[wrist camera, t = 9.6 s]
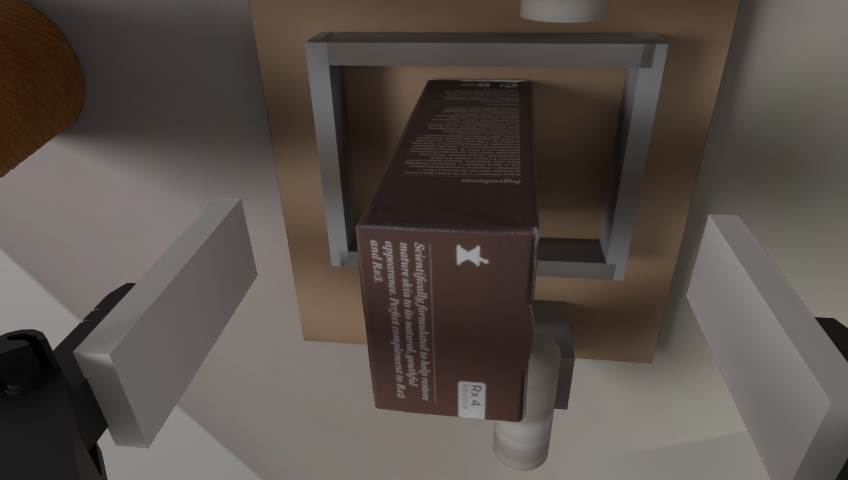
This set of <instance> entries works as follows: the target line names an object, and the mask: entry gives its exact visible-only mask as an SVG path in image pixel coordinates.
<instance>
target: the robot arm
mask: <svg viewBox="0 0 848 480" xmlns="http://www.w3.org/2000/svg"><path fill="white" fill-rule="evenodd" d="M256 277H257V271H256V266H255V261H254V257H253V252H252V247H251V243H250V238H249V233H248V228H247V224H246V219H245V214H244V210H243V205H242V200H241V198H218V197H216V198H215V199H214V200H213V201H212V202H211V204H210V205H209V206H208V207H207V208H206V209H205V210H204V211H203V212H202V213H201V214H200V215H199V217H198V218H197V219H196V220H195V221H194V222H193V223H192V224H191V225H190V226H189V227H188V228H187V229H186V231H185V232H184V233H183V234H182V235H181V236H180V237H179V238H178V239H177V240H176V241H175V242H174V243H173V245H172V246H171V247H170V248H169V249H168V250H167V251H166V252H165V253H164V254H163V255H162V256H161V258H160V259H159V260H158V261H157V262H156V263H155V264H154V265H153V266H152V267H151V268H150V269H149V270H148V272H147V273H146V274H145V275H144V276H143V277H142V278H141V279H140V280H139V281H138V282H137V283H126V284H124V285H123V286H121V287H119V288H118V289H116V290H115V291H113V292H111V293H110V294H108V295H107V296H106V297H105V298H104V299H103V300H102V301H101V302H100V303H99V304H98V305H97V306H96V307H95V308H94V311H91V312H90V313H89V314H88V315H87V316H86V317H85V318H84V319H83V323H80V324H79V325H78V326H77V327H76V328H75V329H74V330H73V331H72V332H71V333H70V334H69V335H68V336H67V337H66V338H65V339H64V340H63V341H62V342H61V343H60V344H59V345H58V346H57V347H56V348H55V349H54V350H53V351H52V349H51V347H50V345H49V342H48V340H47V338H46V337H45V335H44V334H43V332H40V331H37V330H33V329H28V330H18V331H13V332H9V333H6V334H3V335H1V336H0V480H107V475H106V470H105V465H104V461H103V456H102V452H101V450H100V448H99V446H98V443H97V441H98V439H99V438H100V437H101V435H102V434H103V432H104V431H105V430H106V429H107V427H108V430H109V432H110V434H111V436H112V438H113V440H114V442H115V445H117V446H129V447H140V448H149V446H150V445H151V443H152V442H153V440H154V438H155V437H156V435H157V434H158V432H159V431H160V429H161V427H162V426H163V424H164V423H165V421H166V419H167V418H168V416H169V415H170V413H171V411H172V410H173V408H174V407H175V405H176V404H177V402H178V400H179V399H180V397H181V396H182V394H183V392H184V391H185V389H186V388H187V386H188V385H189V383H190V381H191V380H192V378H193V377H194V375H195V373H196V372H197V370H198V369H199V367H200V366H201V364H202V362H203V361H204V359H205V358H206V356H207V354H208V353H209V351H210V350H211V348H212V347H213V345H214V343H215V342H216V340H217V339H218V337H219V335H220V334H221V332H222V331H223V329H224V327H225V326H226V324H227V323H228V321H229V320H230V318H231V316H232V315H233V313H234V312H235V310H236V308H237V307H238V305H239V304H240V302H241V301H242V299H243V297H244V296H245V294H246V293H247V291H248V289H249V288H250V286H251V285H252V283H253V282H254V280H255V278H256ZM686 297H687V299H688V301H689V304H690V306H691V308H692V310H693V312H694V314H695V317H696V319H697V321H698V323H699V325H700V327H701V330H702V332H703V334H704V336H705V338H706V340H707V343H708V345H709V347H710V349H711V351H712V353H713V356H714V358H715V360H716V362H717V364H718V366H719V369H720V371H721V373H722V375H723V377H724V379H725V382H726V384H727V386H728V388H729V390H730V392H731V395H732V397H733V399H734V401H735V403H736V405H737V408H738V410H739V412H740V414H741V416H742V418H743V421H744V423H745V425H746V427H747V429H748V431H749V434H750V436H751V438H752V440H753V442H754V444H755V446H756V449H757V451H758V453H759V455H760V457H761V459H762V462H763V464H764V466H765V468H766V470H767V472H768V474H769V477H770V479H771V480H848V328H847V327H845V326H844V325H843V324H841V323H840V322H838V321H837V320H835V319H834V318H820V317H814V316H813V315H812V314H811V312H810V311H809V310H808V308H807V307H806V306H805V304H804V303H803V301H802V300H801V299H800V297H799V296H798V295H797V293H796V292H795V291H794V289H793V288H792V287H791V285H790V284H789V283H788V281H787V280H786V278H785V277H784V276H783V274H782V273H781V272H780V270H779V269H778V268H777V266H776V265H775V264H774V262H773V261H772V260H771V258H770V257H769V256H768V254H767V253H766V251H765V250H764V249H763V247H762V246H761V245H760V243H759V242H758V241H757V239H756V238H755V237H754V235H753V234H752V233H751V231H750V230H749V229H748V227H747V226H746V224H745V223H744V222H743V220H742V219H741V218H740V216H739V215H716V214H709V215H708V219H707V222H706V226H705V230H704V233H703V237H702V241H701V244H700V248H699V251H698V255H697V259H696V262H695V266H694V270H693V273H692V277H691V280H690V284H689V288H688V291H687V295H686Z"/></svg>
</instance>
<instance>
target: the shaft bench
mask: <svg viewBox="0 0 848 480" xmlns="http://www.w3.org/2000/svg"><path fill="white" fill-rule="evenodd" d="M739 4H740V0H249V6H250V12H251V18H252V24H253V30H254V36H255V42H256V48H257V55H258V61H259V67H260V73H261V79H262V85H263V91H264V98H265V104H266V110H267V116H268V122H269V128H270V134H271V141H272V147H273V153H274V159H275V165H276V171H277V177H278V184H279V190H280V196H281V202H282V208H283V214H284V220H285V226H286V233H287V239H288V245H289V251H290V257H291V263H292V269H293V276H294V282H295V288H296V294H297V300H298V306H299V312H300V319H301V325H302V331H303V337H304V340H306V341H321V342H336V343H352V344H367V345H368V343H367V334H366V326H365V317H364V310H363V303H362V295H361V284H360V273H359V261H358V248H357V237H356V228H355V227H356V225H357V223H358V222H359V220H360V218H361V216H362V214H363V212H364V211H365V209H366V207H367V205H368V203H369V201H370V198H371V196H372V194H373V192H374V190H375V188H376V187H377V184H378V182H379V179H380V178H381V176H382V174H383V172H384V170H385V167H386V165H387V163H388V161H389V160H390V157H391V155H392V153H393V151H394V148H395V147H396V145H397V143H398V141H399V139H400V137H401V135H402V132H403V130H404V128H405V126H406V124H407V121H408V119H409V118H410V115H411V113H412V111H413V109H414V107H415V105H416V103H417V101H418V99H419V97H420V95H421V93H422V91H423V89H424V87H425V85H426V83H427V81H428V80H478V79H489V80H496V79H499V80H505V79H515V80H525V81H531V82H532V87H533V90H532V92H533V112H534V133H535V151H536V168H537V183H538V187H537V189H538V212H539V245H538V258H537V270H536V281H535V293H534V303H533V319H534V344H533V350H532V354H531V357H530V359H529V367H528V382H527V396H526V414H525V417H524V419H523V420H522V421H520V422H508V421H499V420H495V425H494V441H493V449H494V452H495V455H496V456H497V458H498V459H499V460H500V461H501V462H502V463H503V464H504V465H506V466H508V467H510V468H512V469H515V470H521V471H527V470H533V469H536V468H538V467H539V466H541V465H542V464H543V463H544V462H545V460H546V459H547V456H548V449H549V442H550V435H551V427H552V420H553V412H554V409H567V407H568V400H569V394H570V387H571V381H572V374H573V367H574V361H575V358H582V359H597V360H612V361H628V362H643V363H652V360H653V356H654V352H655V348H656V344H657V340H658V336H659V332H660V328H661V323H662V319H663V315H664V311H665V307H666V303H667V299H668V295H669V291H670V287H671V283H672V278H673V274H674V270H675V266H676V262H677V258H678V254H679V250H680V246H681V242H682V238H683V233H684V229H685V225H686V221H687V217H688V213H689V209H690V205H691V201H692V197H693V193H694V188H695V184H696V180H697V176H698V172H699V168H700V164H701V160H702V156H703V152H704V148H705V143H706V139H707V135H708V131H709V127H710V123H711V119H712V115H713V111H714V107H715V102H716V98H717V94H718V90H719V86H720V82H721V78H722V74H723V70H724V66H725V62H726V57H727V53H728V49H729V45H730V41H731V37H732V33H733V29H734V25H735V21H736V17H737V12H738V8H739Z"/></svg>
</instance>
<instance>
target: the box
mask: <svg viewBox="0 0 848 480" xmlns="http://www.w3.org/2000/svg"><path fill="white" fill-rule="evenodd" d="M532 90H533V87H532V82H531V81H525V80H515V79H505V80H499V79H496V80H489V79H478V80H428V81H427V83H426V85H425V87H424V89H423V91H422V93H421V95H420V97H419V99H418V101H417V103H416V105H415V107H414V109H413V111H412V113H411V115H410V118H409V119H408V121H407V124H406V126H405V128H404V130H403V132H402V135H401V137H400V139H399V141H398V143H397V145H396V147H395V148H394V151H393V153H392V155H391V157H390V160H389V161H388V163H387V165H386V167H385V170H384V172H383V174H382V176H381V178H380V179H379V182H378V184H377V187H376V188H375V190H374V192H373V194H372V196H371V198H370V201H369V203H368V205H367V207H366V209H365V211H364V212H363V214H362V216H361V218H360V220H359V222H358V223H357V225H356V227H355V228H356V237H357V248H358V261H359V273H360V284H361V295H362V303H363V310H364V317H365V326H366V334H367V343H368V353H369V362H370V370H371V376H372V386H373V393H374V401H375V406H376V408H378V409H387V410H396V411H404V412H412V413H421V414H433V415H444V416H456V417H465V418H476V419H488V420H499V421H508V422H520V421H522V420H523V419H524V417H525V414H526V396H527V382H528V367H529V359H530V357H531V354H532V350H533V344H534V319H533V303H534V293H535V281H536V270H537V258H538V245H539V212H538V189H537V187H538V183H537V168H536V151H535V133H534V112H533V92H532Z"/></svg>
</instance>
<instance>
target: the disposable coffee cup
mask: <svg viewBox="0 0 848 480" xmlns="http://www.w3.org/2000/svg"><path fill="white" fill-rule="evenodd" d="M83 101H84V85H83V77H82V73H81V70H80V67H79V64H78V61H77V59H76V57H75V55H74V52H73V51H72V49H71V48H70V46H69V44H68V43H67V41H66V40H65V38H64V37H63V36H62V34H61V33H60V32H59V31H58V29H57V28H56V27H55V26H54V25H53V24H52V23H50V22H49V21H48V20H47V19H46V18H45V17H44V16H43V15H41V14H40V13H39V12H38V11H36V10H35V9H33V8H32V7H30V6H29V5H27V4H25V3H23V2H21V1H19V0H0V177H3V176H4V175H5V174H7V173H8V172H9V171H10V170H9V169H14V168H15V167H16V166H17V165H18V164H20V163H21V162H23V161H24V160H25V159H26V158H28V157H29V156H30V155H32V154H33V153H34V152H35V151H37V150H38V149H40V148H41V147H42V146H43V145H45V144H46V143H47V142H48V141H50V140H51V139H52V138H54V136H56V135H58V134H59V133H60V132H62V131H63V130H65V129H66V128H68V127H69V126H70V125H71V124H73V123H74V121H75V120H76V118H77V117H78V116H79V114H80V111H81V109H82V106H83ZM28 155H29V156H28ZM19 162H20V163H19Z"/></svg>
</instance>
